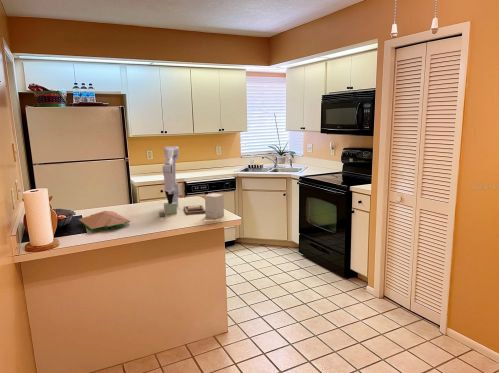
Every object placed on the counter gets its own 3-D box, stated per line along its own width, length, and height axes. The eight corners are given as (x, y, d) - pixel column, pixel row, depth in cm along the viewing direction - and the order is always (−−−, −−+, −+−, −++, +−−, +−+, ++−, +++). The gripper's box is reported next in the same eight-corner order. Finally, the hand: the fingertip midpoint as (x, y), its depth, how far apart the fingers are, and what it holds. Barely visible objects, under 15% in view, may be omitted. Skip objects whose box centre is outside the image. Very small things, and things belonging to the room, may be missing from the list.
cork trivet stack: (186, 209, 260) (186, 206, 259) (199, 208, 262) (199, 205, 262) (187, 210, 255) (187, 208, 254) (200, 209, 257) (200, 207, 257)
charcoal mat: (159, 213, 253) (159, 212, 253) (180, 211, 256) (180, 210, 256) (160, 217, 243) (160, 216, 243) (181, 215, 247) (181, 214, 247)
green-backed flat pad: (93, 235, 209) (92, 221, 207) (76, 222, 234) (75, 210, 232) (132, 227, 223) (131, 214, 222) (113, 216, 248) (112, 204, 246)
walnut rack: (183, 209, 261) (183, 206, 261) (202, 208, 265) (201, 205, 264) (186, 215, 246) (186, 212, 245) (205, 214, 249) (205, 211, 249)
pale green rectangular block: (164, 213, 251) (163, 203, 249) (176, 212, 253) (175, 202, 251) (164, 214, 247) (164, 204, 245) (176, 213, 249) (176, 203, 248)
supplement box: (224, 216, 243) (224, 194, 240) (216, 219, 236) (215, 197, 233) (213, 214, 248) (213, 192, 245) (205, 217, 241) (204, 195, 238)
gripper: (175, 184, 240) (176, 204, 243) (173, 180, 253) (174, 199, 256) (164, 184, 238) (165, 205, 241) (163, 180, 252) (164, 200, 254)
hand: (169, 202), depth 248 cm, fingers open, 7 cm apart
